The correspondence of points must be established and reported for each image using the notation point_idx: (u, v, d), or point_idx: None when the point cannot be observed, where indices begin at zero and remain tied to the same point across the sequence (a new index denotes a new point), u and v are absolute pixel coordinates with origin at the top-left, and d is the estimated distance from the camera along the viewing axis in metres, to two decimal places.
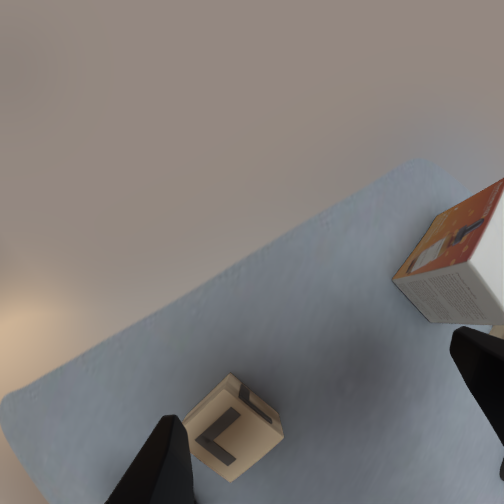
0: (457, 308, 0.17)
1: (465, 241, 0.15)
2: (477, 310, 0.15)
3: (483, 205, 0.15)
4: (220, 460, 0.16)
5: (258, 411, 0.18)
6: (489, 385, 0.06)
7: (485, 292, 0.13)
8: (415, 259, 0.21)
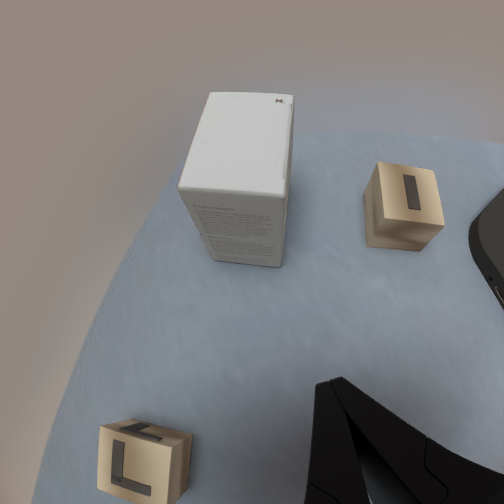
0: (252, 233, 0.19)
1: None
2: (253, 217, 0.17)
3: None
4: (141, 493, 0.14)
5: (141, 434, 0.16)
6: (357, 452, 0.06)
7: (222, 196, 0.15)
8: None
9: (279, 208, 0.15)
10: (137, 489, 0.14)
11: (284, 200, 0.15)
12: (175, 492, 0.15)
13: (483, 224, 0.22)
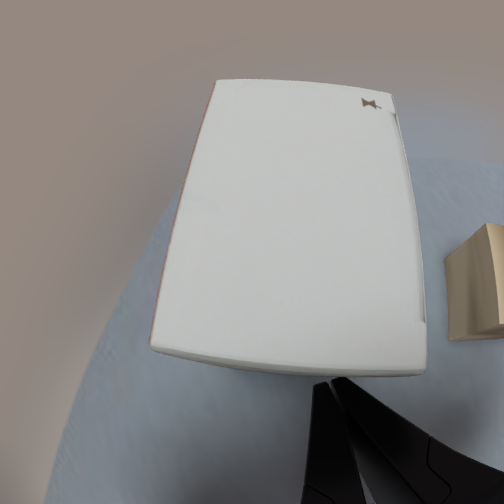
0: None
1: None
2: None
3: None
4: None
5: None
6: (359, 451, 0.06)
7: (271, 371, 0.06)
8: None
9: None
10: None
11: None
12: None
13: None
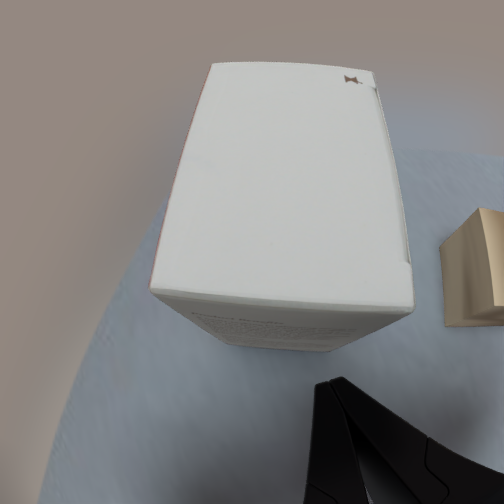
0: (305, 338, 0.10)
1: None
2: (321, 329, 0.08)
3: None
4: None
5: None
6: (358, 451, 0.06)
7: (264, 310, 0.06)
8: None
9: (387, 322, 0.06)
10: None
11: None
12: None
13: None
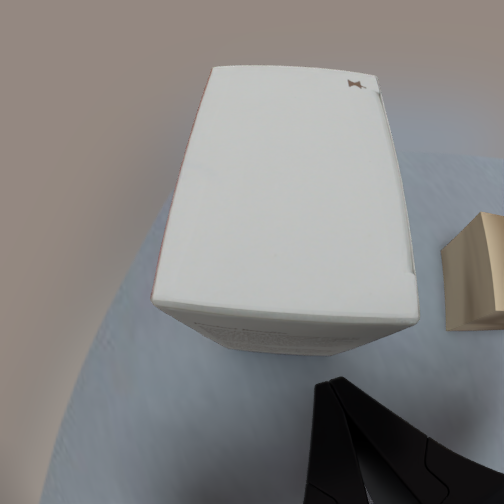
0: (307, 345, 0.09)
1: None
2: (324, 338, 0.08)
3: None
4: None
5: None
6: (358, 451, 0.06)
7: (268, 322, 0.06)
8: None
9: (390, 332, 0.06)
10: None
11: None
12: None
13: None
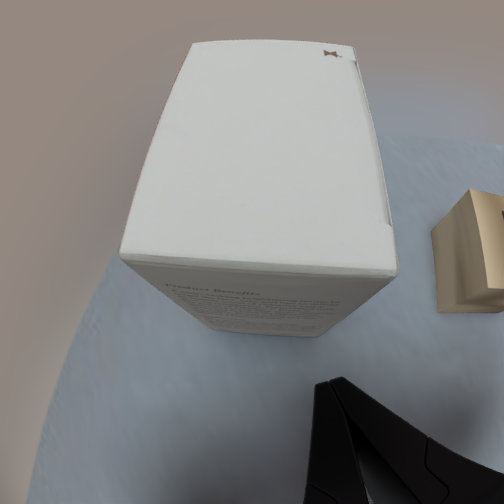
0: (288, 316, 0.09)
1: None
2: (302, 303, 0.07)
3: None
4: None
5: None
6: (358, 451, 0.06)
7: (235, 275, 0.06)
8: None
9: (370, 291, 0.06)
10: None
11: None
12: None
13: None
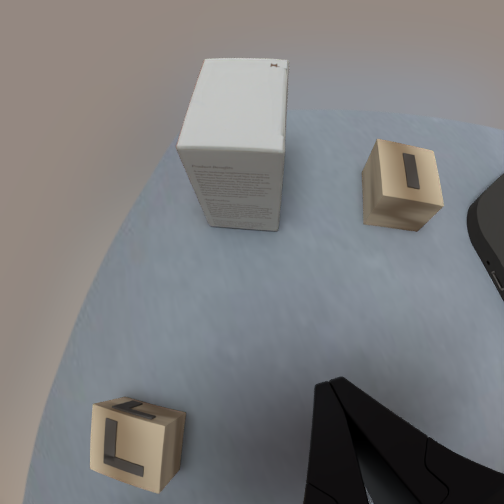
0: (250, 193, 0.18)
1: None
2: (252, 176, 0.16)
3: None
4: (134, 473, 0.14)
5: (134, 412, 0.16)
6: (358, 451, 0.06)
7: (222, 153, 0.15)
8: None
9: (278, 165, 0.15)
10: (130, 469, 0.14)
11: (283, 156, 0.15)
12: (168, 472, 0.16)
13: (481, 208, 0.22)
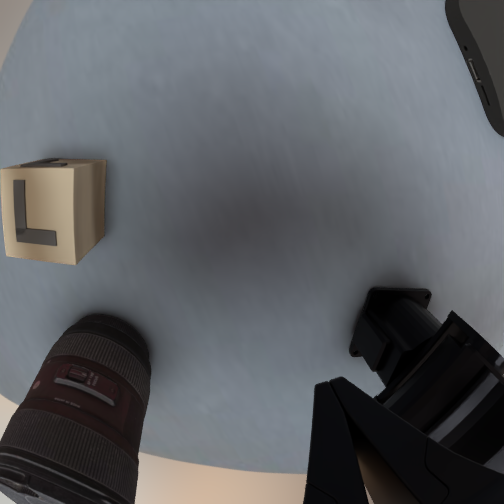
0: None
1: None
2: None
3: None
4: (47, 244, 0.13)
5: (44, 164, 0.13)
6: (358, 451, 0.06)
7: None
8: None
9: None
10: (42, 239, 0.13)
11: None
12: (86, 236, 0.15)
13: None
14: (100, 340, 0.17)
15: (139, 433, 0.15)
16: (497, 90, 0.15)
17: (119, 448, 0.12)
